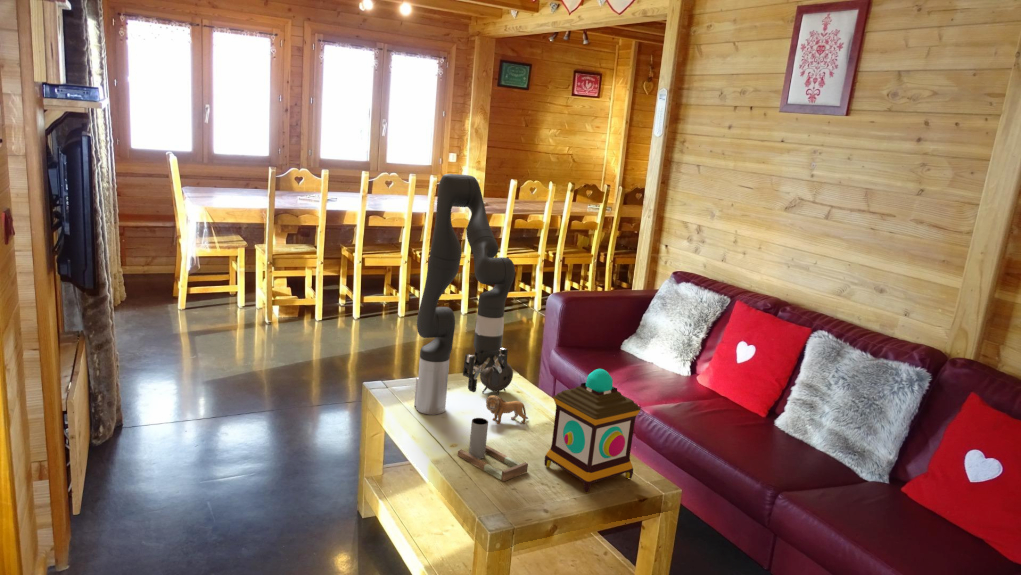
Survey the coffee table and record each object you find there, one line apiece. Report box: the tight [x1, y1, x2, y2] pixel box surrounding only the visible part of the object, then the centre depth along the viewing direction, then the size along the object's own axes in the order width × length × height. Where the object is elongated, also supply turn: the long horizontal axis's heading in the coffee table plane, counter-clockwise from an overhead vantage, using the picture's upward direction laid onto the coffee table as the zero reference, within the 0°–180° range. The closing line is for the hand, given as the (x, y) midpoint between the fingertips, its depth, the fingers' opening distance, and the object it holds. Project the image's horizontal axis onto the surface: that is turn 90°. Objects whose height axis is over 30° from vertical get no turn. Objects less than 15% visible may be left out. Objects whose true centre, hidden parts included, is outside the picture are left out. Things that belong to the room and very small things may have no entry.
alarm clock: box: [479, 358, 514, 396], centre depth 250 cm, size 11×5×16 cm, turn 119°
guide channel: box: [457, 444, 529, 482], centre depth 200 cm, size 18×9×2 cm, turn 46°
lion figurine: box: [485, 395, 529, 425], centre depth 228 cm, size 15×5×9 cm, turn 113°
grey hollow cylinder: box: [468, 417, 489, 460], centre depth 203 cm, size 4×4×10 cm
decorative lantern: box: [543, 368, 642, 494], centre depth 197 cm, size 20×20×30 cm
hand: (483, 388), depth 200 cm, fingers open, 8 cm apart
